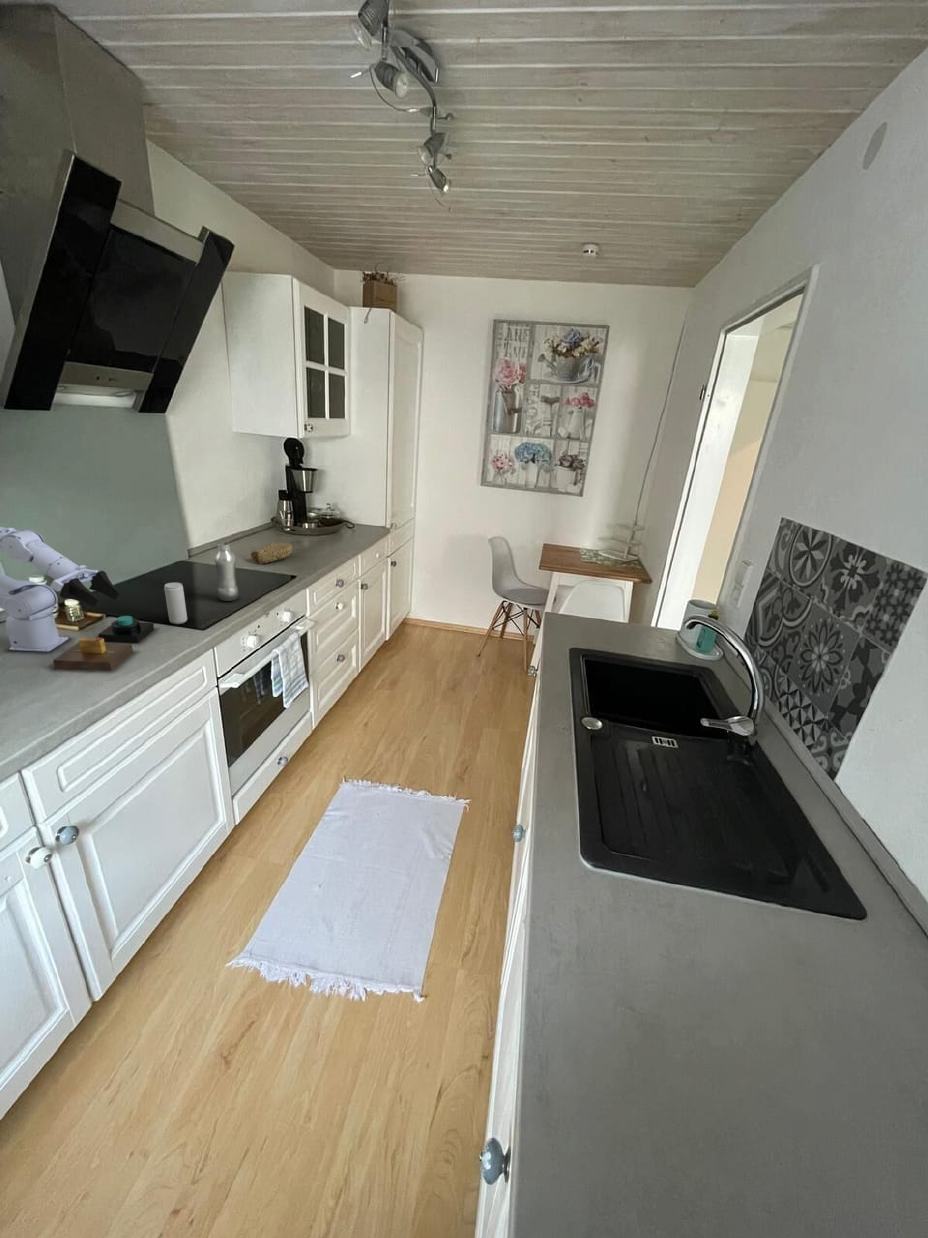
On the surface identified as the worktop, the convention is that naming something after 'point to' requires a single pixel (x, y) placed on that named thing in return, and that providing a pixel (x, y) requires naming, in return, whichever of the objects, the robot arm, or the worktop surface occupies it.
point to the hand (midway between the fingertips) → (108, 599)
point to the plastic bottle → (226, 573)
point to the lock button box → (127, 632)
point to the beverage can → (175, 603)
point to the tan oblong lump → (272, 552)
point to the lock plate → (93, 658)
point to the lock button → (124, 620)
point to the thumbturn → (92, 645)
